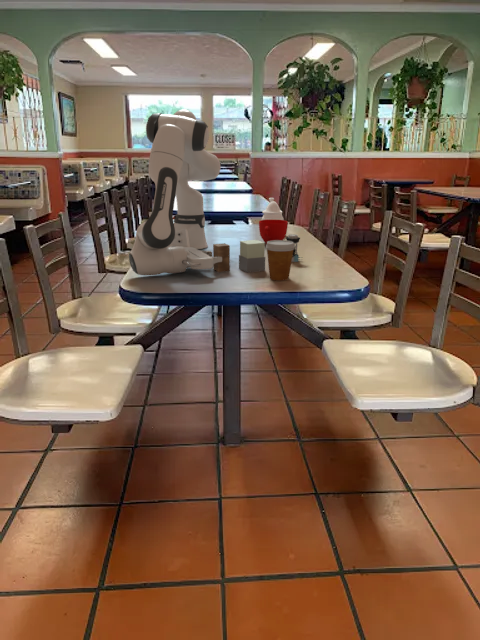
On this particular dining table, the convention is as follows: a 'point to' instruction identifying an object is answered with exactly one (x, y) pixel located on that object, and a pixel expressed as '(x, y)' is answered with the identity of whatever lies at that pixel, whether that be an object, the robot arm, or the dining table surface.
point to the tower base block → (251, 264)
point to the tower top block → (252, 249)
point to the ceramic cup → (272, 229)
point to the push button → (295, 240)
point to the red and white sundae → (272, 211)
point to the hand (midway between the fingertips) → (216, 256)
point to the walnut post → (224, 252)
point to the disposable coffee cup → (279, 259)
